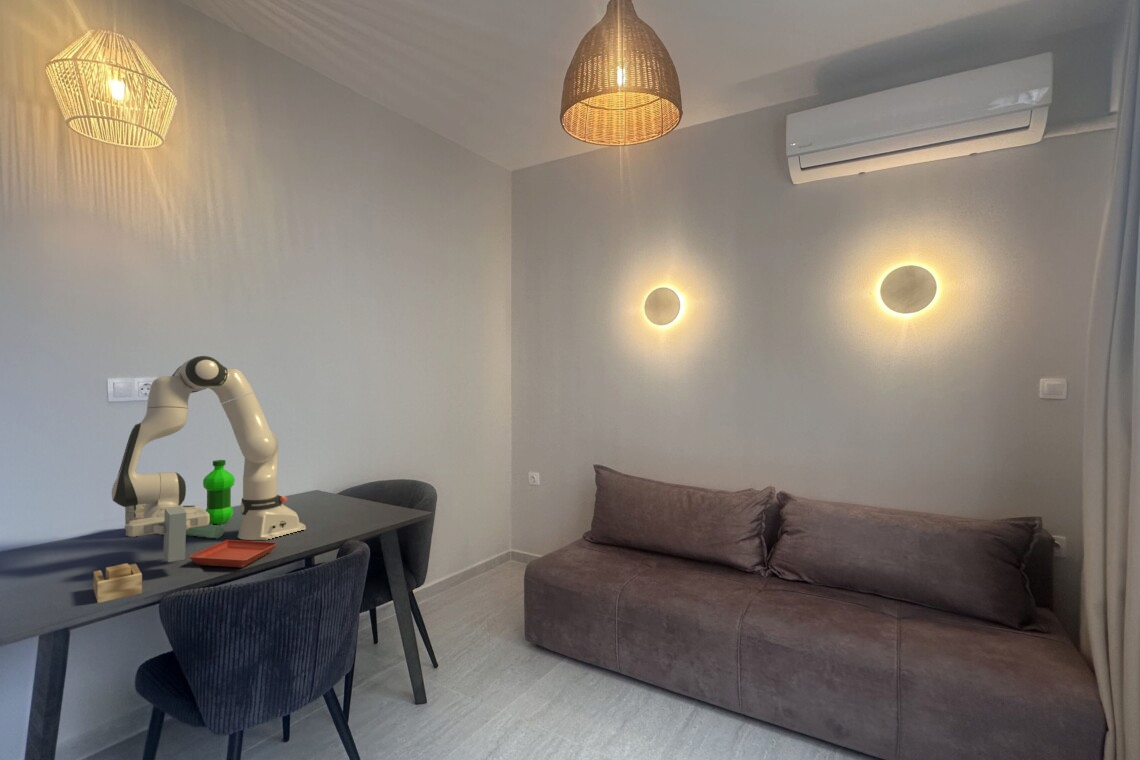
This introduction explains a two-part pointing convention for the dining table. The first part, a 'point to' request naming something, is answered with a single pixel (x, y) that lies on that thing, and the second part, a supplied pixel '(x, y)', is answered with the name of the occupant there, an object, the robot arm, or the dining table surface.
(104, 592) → the rack
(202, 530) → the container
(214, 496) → the plastic bottle
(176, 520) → the grey rectangular block
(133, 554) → the dining table surface
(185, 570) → the dining table surface
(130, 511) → the candy bar box
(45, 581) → the dining table surface
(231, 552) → the plant saucer
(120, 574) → the offcut upper
